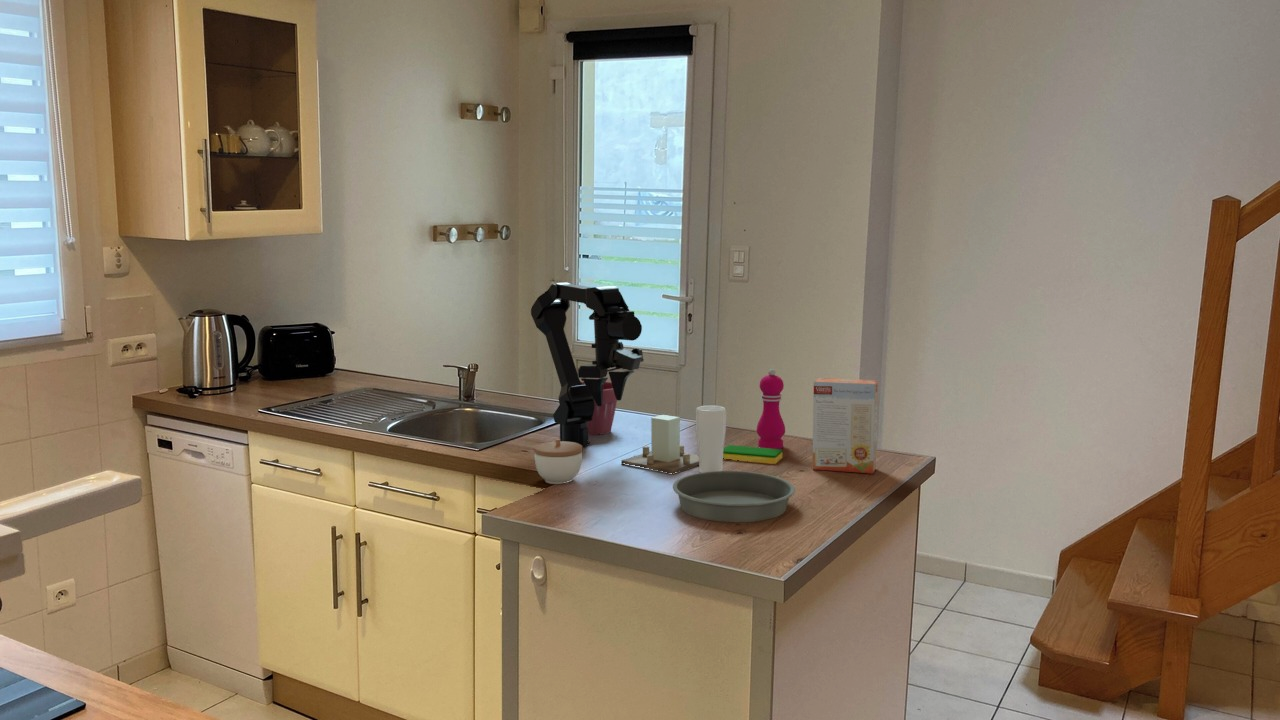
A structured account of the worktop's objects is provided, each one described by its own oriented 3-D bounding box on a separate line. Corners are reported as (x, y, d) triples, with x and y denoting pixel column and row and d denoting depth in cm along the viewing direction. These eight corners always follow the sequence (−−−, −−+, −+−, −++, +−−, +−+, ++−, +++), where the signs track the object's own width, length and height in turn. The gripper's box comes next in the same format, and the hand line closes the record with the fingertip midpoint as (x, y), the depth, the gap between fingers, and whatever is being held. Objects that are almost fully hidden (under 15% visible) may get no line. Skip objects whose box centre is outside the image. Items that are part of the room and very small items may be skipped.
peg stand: (621, 464, 236) (621, 452, 235) (659, 452, 247) (659, 440, 247) (672, 474, 227) (672, 461, 226) (710, 461, 238) (710, 449, 238)
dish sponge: (728, 454, 248) (728, 444, 247) (782, 458, 242) (782, 449, 242) (719, 460, 241) (719, 450, 241) (775, 465, 236) (775, 455, 236)
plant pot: (608, 438, 263) (608, 390, 261) (559, 435, 267) (559, 387, 266) (627, 428, 276) (627, 382, 274) (581, 424, 281) (580, 379, 279)
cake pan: (707, 532, 186) (707, 509, 185) (653, 498, 208) (652, 477, 208) (818, 516, 196) (819, 494, 195) (755, 485, 218) (756, 465, 217)
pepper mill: (784, 450, 249) (785, 371, 246) (755, 449, 250) (756, 370, 247) (785, 444, 256) (787, 367, 253) (757, 443, 257) (758, 366, 254)
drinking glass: (705, 477, 224) (706, 412, 222) (690, 470, 230) (690, 406, 228) (731, 474, 227) (731, 409, 225) (715, 467, 233) (715, 404, 231)
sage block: (651, 459, 237) (651, 417, 235) (662, 455, 240) (662, 414, 239) (668, 462, 234) (668, 420, 232) (679, 458, 237) (679, 417, 236)
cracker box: (876, 468, 231) (879, 379, 228) (873, 474, 226) (876, 383, 223) (815, 463, 236) (817, 376, 233) (811, 470, 230) (813, 380, 227)
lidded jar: (580, 473, 228) (579, 433, 227) (585, 485, 218) (585, 443, 216) (532, 475, 226) (532, 435, 225) (536, 488, 216) (535, 445, 214)
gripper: (616, 342, 228) (619, 410, 229) (654, 335, 244) (656, 398, 246) (574, 342, 233) (578, 408, 235) (615, 335, 249) (617, 397, 251)
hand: (609, 403), depth 241 cm, fingers open, 9 cm apart
